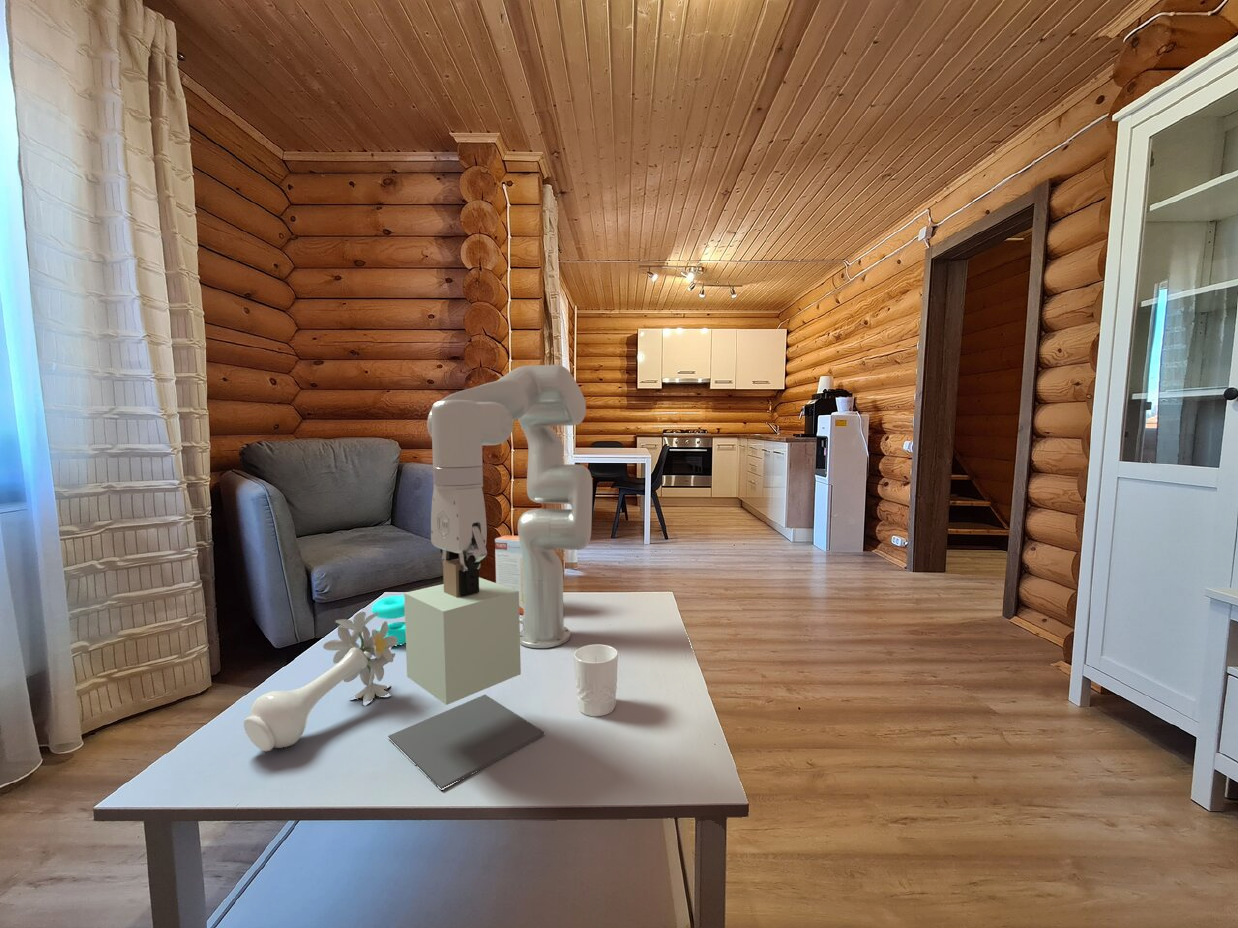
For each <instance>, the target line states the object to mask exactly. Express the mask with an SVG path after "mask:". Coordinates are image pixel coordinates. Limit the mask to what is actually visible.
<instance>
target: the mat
mask: <svg viewBox="0 0 1238 928" xmlns="http://www.w3.org/2000/svg"><path fill="white" fill-rule="evenodd" d="M544 736H545V731H544V730H542V729H541V728H539V727H537V726H535V725H534V724H533V723H531V722H530V721H528V720H526V719H525V718H523V717H521V716H520V715H518V714H516V712H514V711H512V710H511V709H509V708H508V707H506V706H505V705H502V704H501V703H499V702H498V701H496V700H494V699H493V698H491V697H490V696H488V695H487V694H483V695H480V696H478V697H475V698H473V699H471V700H468V701H466V702H464V703H461V704H459V705H457V706H454V707H452V708H450V709H448V710H445V711H443V712H440V713H438V714H436V715H434V716H431V717H429V718H426V719H424V720H422V721H420V722H416V723H415V724H413V725H410V726H407V727H406V728H403V729H401V730H399V731H396V732H394V733H391V734H389V735H388V736H387V738H388V737H389V738H390V739H391V740H392V741H393V742H394V743H395V744H396V745H397V746H398V747H399V748H400V749H401V750H402V751H403V752H404V753H405V754H406V755H407V756H408V757H409V758H410V759H411V760H412V761H413V762H414V763H415V764H416V765H417V766H418V767H419V768H420V769H421V770H422V771H423V772H424V773H425V774H426V775H427V776H428V777H429V778H430V779H431V780H432V781H433V782H434V783H435V784H436V785H438V786H439V787H440V788H441V789H442V788H444V787H446V786H448V785H450V784H452V783H454V782H456V781H459V780H461V779H463V778H465V777H467V776H469V775H471V774H472V773H474V772H476V771H478V772H479V770H480V771H482V770H483V769H485V768H487V767H489V766H490V765H492V764H495V763H496V762H499V761H500V760H502V759H503V758H505V757H507V756H509V755H511V754H513V753H514V752H517V751H519V750H520V749H523V748H525V746H527V745H530V744H531V743H533V742H535V741H537V740H539V739H541V738H542V737H544ZM481 769H482V770H481ZM476 773H477V772H476ZM474 774H475V773H474ZM472 775H473V774H472ZM472 775H471V776H472ZM469 777H470V776H469ZM467 778H468V777H467ZM465 779H466V778H465ZM463 780H464V779H463ZM461 781H462V780H461Z"/></svg>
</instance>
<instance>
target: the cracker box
mask: <svg viewBox="0 0 1238 928" xmlns="http://www.w3.org/2000/svg"><path fill="white" fill-rule="evenodd" d="M494 546H495V547H494V548H495V549H494V551H495V552H494V554H495V555H494V557H495V583H497V584H500V585H503V586H506V587H509V588H512V589H515V590H518V591H519V615H522V616H523V614H524V597H523V561H522V551H521V545H520V540H519V536H518V535H502V536H499V537H496V538H494Z"/></svg>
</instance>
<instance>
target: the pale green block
mask: <svg viewBox="0 0 1238 928" xmlns="http://www.w3.org/2000/svg"><path fill="white" fill-rule="evenodd" d="M468 558H469V557H467V560H468ZM442 567H443V568H442V570H443V571H442V572H443V575H442V576H443V583H442V584H438V585H433V586H428V587H424V588H420V589H416V590H412V591H407V592H404V593H403V595H404V604H405V616H404V622H405V632H406V644H405V652H406V654H405V655H406V659H405V660H406V677H407V678H408V679H410V680H411V681H413V682H414V683H415V684H416V685H418V686H419V687H420V688H422V689H423V690H425V691H426V692H428V693H429V694H430V695H431V696H433V697H434V698H436V699H437V700H438V701H440V702H441V703H442V704H444V705H445V706H447V705H449V704H453V703H456V702H457V701H460V700H462V699H464V698H468V697H469V696H472V695H475V694H477V693H479V692H481V691H484V690H486V689H488V688H489V689H490V688H491V687H493V686H496V685H499V684H501V683H503V682H506V681H508V680H510V679H513V678H515V677H518V676H520V675H522V671H521V669H522V667H521V666H522V664H521V644H520V632H521V630H520V629H521V628H520V627H521V626H520V624H521V623H520V620H519V618H520V614H519V591H518V590H515V589H512V588H509V587H506V586H503V585H500V584H497V583H496V582H494V581H491V580H488V579H484V578H482V577H480V576H479V592H478V593H475V594H471V595H467V596H464V597H462V596H460V595H459V571H462V570H461V564H460V558H459V559H454V560H449V561H444V562H443V563H442Z"/></svg>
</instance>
